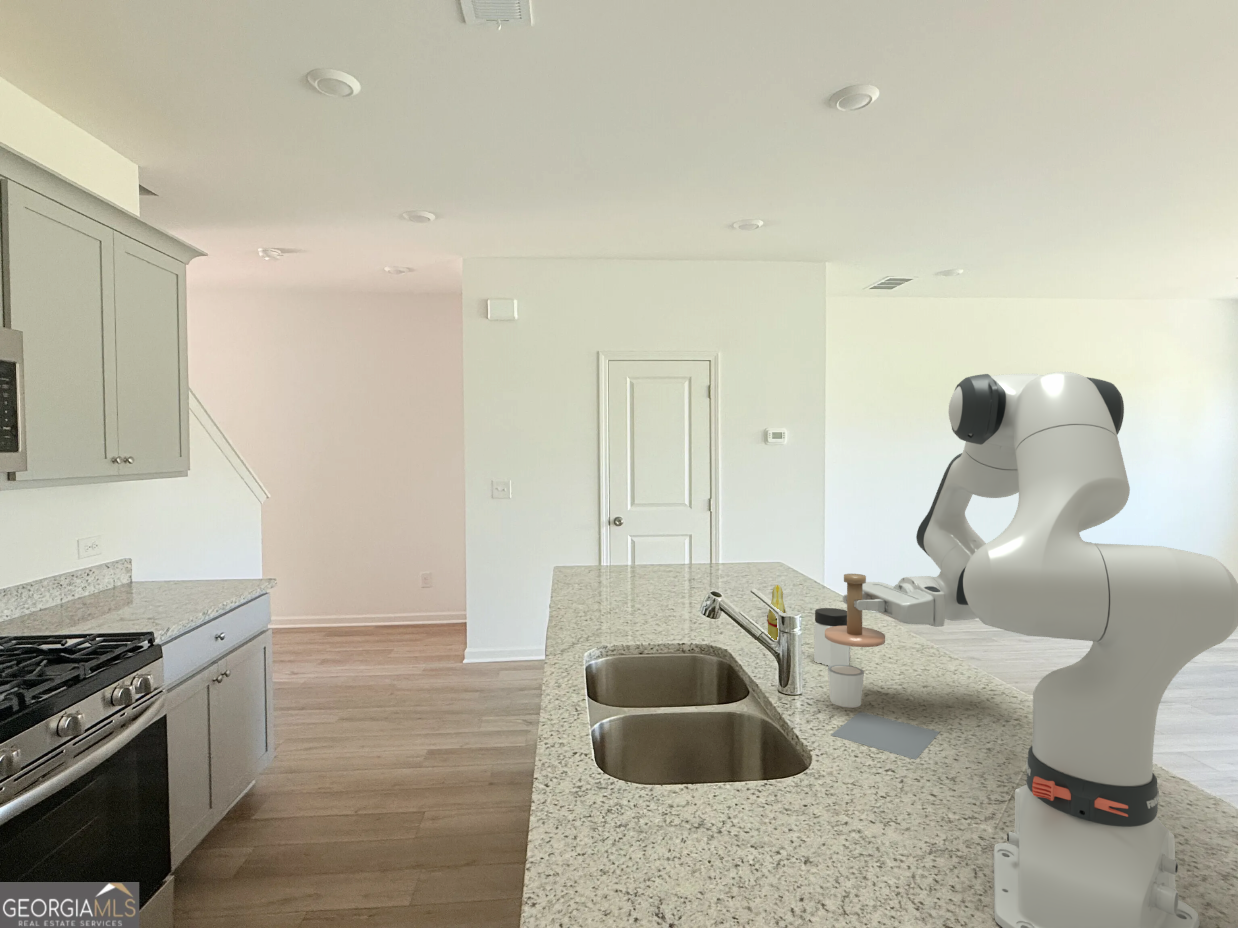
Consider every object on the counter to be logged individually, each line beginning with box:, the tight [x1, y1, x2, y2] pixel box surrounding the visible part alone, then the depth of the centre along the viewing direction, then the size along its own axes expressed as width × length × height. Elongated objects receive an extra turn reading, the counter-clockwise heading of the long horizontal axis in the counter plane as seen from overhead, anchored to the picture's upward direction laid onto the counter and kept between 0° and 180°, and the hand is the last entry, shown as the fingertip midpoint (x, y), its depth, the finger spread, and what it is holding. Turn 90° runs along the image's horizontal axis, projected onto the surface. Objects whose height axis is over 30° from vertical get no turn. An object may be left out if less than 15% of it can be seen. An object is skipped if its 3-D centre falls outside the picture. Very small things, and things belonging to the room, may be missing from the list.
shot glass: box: [827, 664, 865, 708], centre depth 129 cm, size 7×7×7 cm
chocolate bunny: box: [766, 584, 787, 640], centre depth 173 cm, size 7×11×15 cm, turn 166°
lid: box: [825, 573, 886, 648], centre depth 126 cm, size 11×11×12 cm
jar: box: [813, 607, 852, 667], centre depth 156 cm, size 9×8×12 cm
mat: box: [830, 710, 941, 761], centre depth 114 cm, size 14×14×1 cm
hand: (850, 602), depth 126 cm, fingers closed on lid, 3 cm apart
